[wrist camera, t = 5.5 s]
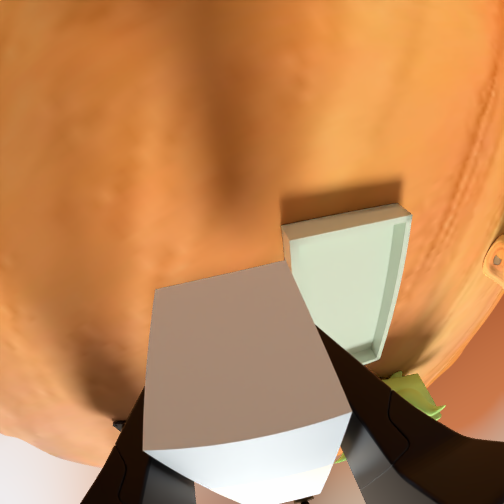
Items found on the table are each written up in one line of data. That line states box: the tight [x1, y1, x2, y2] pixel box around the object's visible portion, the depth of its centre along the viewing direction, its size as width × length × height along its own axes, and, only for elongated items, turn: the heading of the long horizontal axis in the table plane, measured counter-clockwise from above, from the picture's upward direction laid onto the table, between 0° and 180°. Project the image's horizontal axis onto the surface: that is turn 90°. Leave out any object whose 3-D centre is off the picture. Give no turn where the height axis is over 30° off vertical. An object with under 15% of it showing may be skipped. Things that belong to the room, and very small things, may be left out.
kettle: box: [335, 371, 446, 463], centre depth 31 cm, size 15×14×11 cm
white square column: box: [143, 260, 352, 504], centre depth 10 cm, size 14×4×5 cm, turn 9°
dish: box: [281, 203, 412, 365], centre depth 23 cm, size 17×9×2 cm, turn 8°
